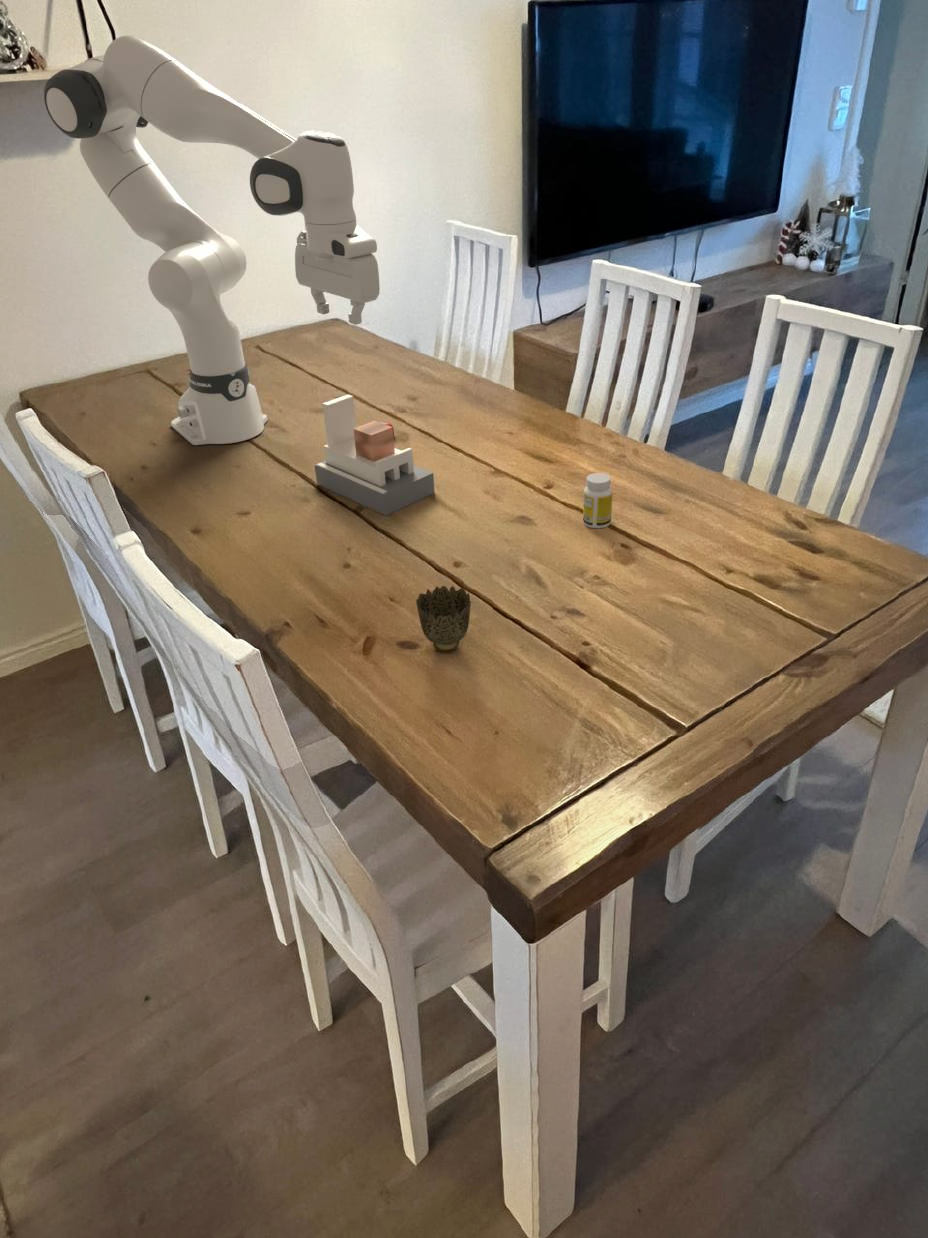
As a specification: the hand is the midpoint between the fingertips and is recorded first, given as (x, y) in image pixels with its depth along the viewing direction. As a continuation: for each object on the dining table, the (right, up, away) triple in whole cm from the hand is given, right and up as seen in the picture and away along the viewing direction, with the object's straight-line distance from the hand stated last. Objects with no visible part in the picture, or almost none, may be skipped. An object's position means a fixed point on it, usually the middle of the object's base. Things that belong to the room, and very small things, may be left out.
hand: (339, 318), depth 165 cm
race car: (+4, -19, +23) cm, 30 cm away
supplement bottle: (+46, -38, -9) cm, 60 cm away
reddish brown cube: (+7, -25, +1) cm, 25 cm away
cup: (+20, -59, -38) cm, 73 cm away
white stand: (+5, -27, +4) cm, 27 cm away
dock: (+6, -30, +5) cm, 31 cm away
